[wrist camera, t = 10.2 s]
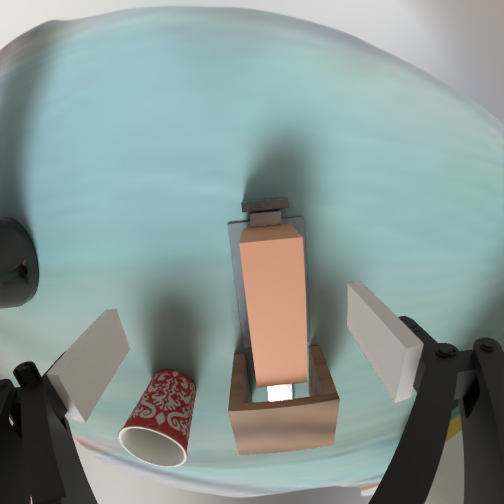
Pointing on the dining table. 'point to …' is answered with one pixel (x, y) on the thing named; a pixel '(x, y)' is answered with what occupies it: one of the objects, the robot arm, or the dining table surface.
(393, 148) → the dining table surface
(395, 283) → the dining table surface
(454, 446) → the planter
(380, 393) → the dining table surface
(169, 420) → the mug
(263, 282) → the block
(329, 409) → the open box
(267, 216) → the track
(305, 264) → the pad
